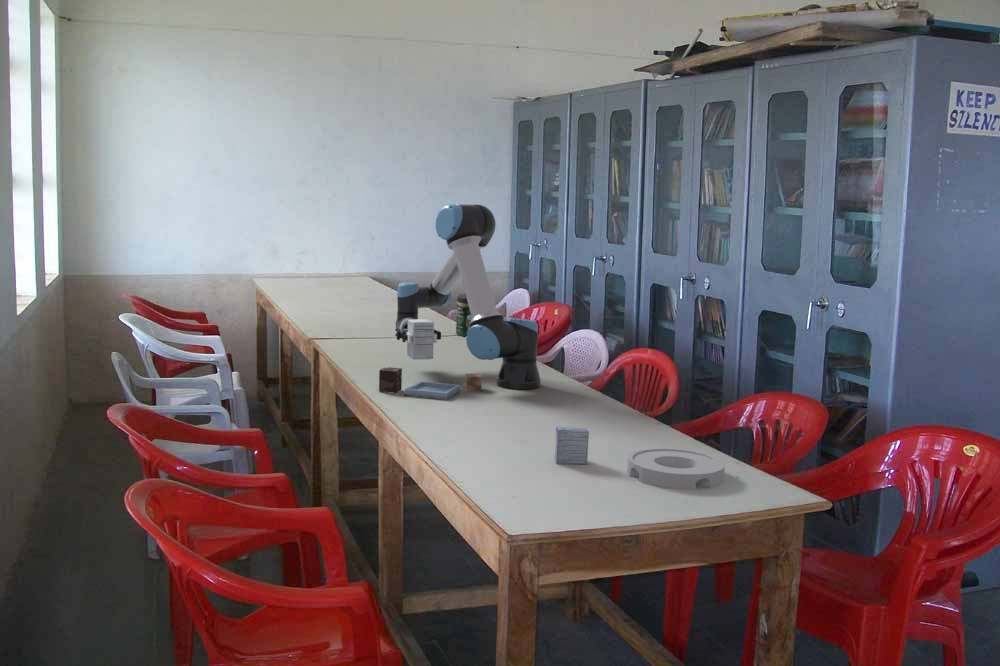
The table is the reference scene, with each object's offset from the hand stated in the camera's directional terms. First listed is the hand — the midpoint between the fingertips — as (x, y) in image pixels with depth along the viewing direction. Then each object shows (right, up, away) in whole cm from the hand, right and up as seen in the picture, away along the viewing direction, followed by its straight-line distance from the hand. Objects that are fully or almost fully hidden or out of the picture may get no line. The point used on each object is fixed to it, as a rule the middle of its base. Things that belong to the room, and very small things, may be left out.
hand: (423, 339), depth 328 cm
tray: (+4, -18, -7) cm, 19 cm away
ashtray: (+68, -33, -88) cm, 116 cm away
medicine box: (+43, -31, -80) cm, 96 cm away
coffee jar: (+10, +1, +119) cm, 119 cm away
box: (-10, -17, -5) cm, 21 cm away
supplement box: (-1, -7, +6) cm, 9 cm away
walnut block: (+17, -17, +2) cm, 24 cm away
